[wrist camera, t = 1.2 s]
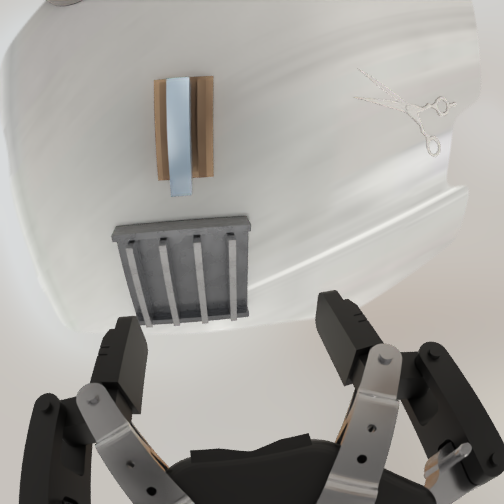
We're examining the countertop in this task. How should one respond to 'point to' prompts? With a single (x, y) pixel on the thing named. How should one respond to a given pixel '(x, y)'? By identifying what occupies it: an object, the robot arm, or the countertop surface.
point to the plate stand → (199, 122)
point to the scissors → (410, 109)
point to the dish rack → (186, 269)
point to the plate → (179, 135)
